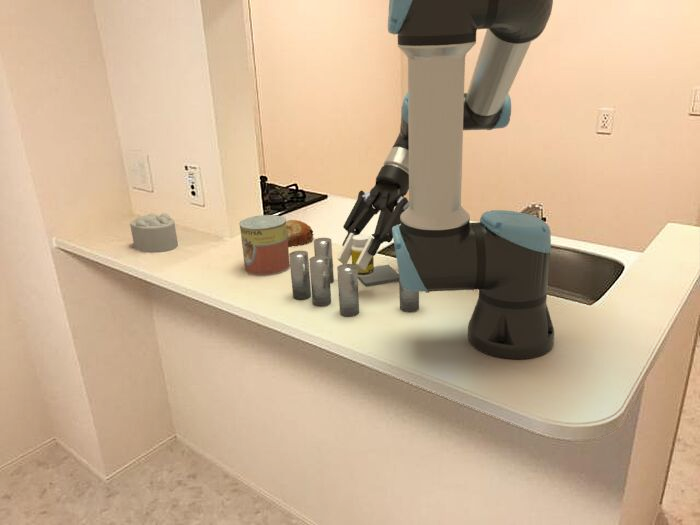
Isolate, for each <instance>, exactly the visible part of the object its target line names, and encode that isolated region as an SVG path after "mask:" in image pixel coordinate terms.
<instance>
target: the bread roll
mask: <svg viewBox="0 0 700 525" xmlns="http://www.w3.org/2000/svg"><path fill="white" fill-rule="evenodd" d="M286 229H287V240H288V248H289V247H291V248H293V247H292V246H294V247H298V245H300V246H305V245H308V244H309V242H310V243H312V240H313V239H314V235H315V234H314V231H313V229H312V227H311V226H310V225H308V224H307V223H305V222H304V221H300V220H297V219H288V220H286ZM307 243H308V244H307ZM304 244H305V245H304Z"/></svg>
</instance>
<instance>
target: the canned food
mask: <svg viewBox="0 0 700 525" xmlns="http://www.w3.org/2000/svg"><path fill="white" fill-rule="evenodd" d="M286 221H287V219H286V218H285V217H284V216H281V215H277V214H276V215H275V214H273V215H272V214H262V215H255V216H251V217H247V218H245V219H242V220H241V221H240V222H239V224H238V225H239V230H240V238H241V248H242V255H243V263H244V271H245V273H246V274H248V275H251V276H254V277H255V276H256V277H266V276H267V277H269V276H275V275H279V274H282V273H285V272H286V271H288V270H289V269H291V268H290V257H289V254H290V253H289V247H288V240H287V229H286Z"/></svg>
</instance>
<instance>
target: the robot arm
mask: <svg viewBox="0 0 700 525" xmlns="http://www.w3.org/2000/svg"><path fill="white" fill-rule="evenodd" d="M388 1H389V2H388V17H387V18H388V19H387V32H388V33H389V34H392V35H393V36H395V35H397V47H398V48H399V50H401V51H402V52H403V53H404V54H405V55H406V57H407V92H406V94H405V95H404V97H403V101H402V104H401V116H400V117H401V118H400V126H399V127H400V128H399V133H398V136H397V138H396V140H395V142H394V144H393V146H392V147H391V149H390V151H389V153H388V155H387V157H386V158H385V160H384V162H383V166H382V167H381V168H380V169H379V171H378V173H377V176H376V178H375V185H374V186H373V187H372V188H371V189H370V190H369V191H366V192H364V190H360V191H359V192H358V196H357V199H356V202H355V203H354V205H353V207H352V209H351V211H350V213H349V214H348V217H347V218H346V221H345V222H344V224H343V229H344V230H345V231H346V232H347V233H346V234H347V235H346V236H345V238H344V240H343V242H342V248H341V250H340V252H339V253H338V256H337V258H336V260H338V261H339V262H340V263H341V265H342V264H348V263H349V260H350V258H352V254H351V247H352V245H354V244H353V239H352V238H353V236H355V235H360V234H362V231H363V230H364V229H365V227H366V226H367V225H368V224H369V223H370V221H371V220H372V218H373V217H374V215H377V214H378V213H379V216H378V218H377V222H376V226H375V229H374V233H372V234H371V237H369V239H368V241H367V243H366V245H365V247H364V249H363V251H362V252H361V254H360V256H359V258H358V260H357V262H356V264H357V265H358V266H359V267H360V268H361V269H362V270H365V269H366V267H367V265H368V263H369V261H370V259H371V257H372V256H373V257H374V256H375V255H377V252H378V251H379V250H380V246H381V244H383V243H387V244H388V243H391V242H392V241H393V244H394V245H393V246H394V251H395V257H396V264H397V269H398V274H399V277H400V282H401V285H402V287H403V288H404V289H405V290H407V291H419V293H420V292H421V293H422V292H424V293H430V292H431V293H432V292H450V291H454V292H455V291H469V290H470V291H474V290H475V291H476V290H478V299H477V301H476V304H475V306H474V308H473V310H472V314H471V317H470V319H469V321H468V324H467V340H468V342H469V343H470V345H472V346H473V348H475V349H477V350H478V351H479V352H482V353H484V354H486V355H487V354H488V355H490V356H493V357H498V358H501V359H502V358H503V359H509V360H510V359H511V360H523V359H524V360H525V359H526V360H527V359H532V358H536V357H540V356H542V355H544V354H546V353H548V352H549V351H551V349H552V348H553V346H554V342H555V328H554V325H553V322H552V318H551V315H550V311H549V308H548V304H547V299H548V298H547V297H548V284H549V282H548V281H549V269H550V258H551V257H550V256H551V252H552V244H551V243H552V242H551V241H552V239H551V236H552V235H551V233H552V232H551V229H550V226H549V225H548V223H547V222H545V221H544V220H542V219H541V218H539V217H536V216H534V215H531V214H527V213H525V212H520V211H514V210H506V209H505V210H501V209H496V210H490V211H488V210H487V211H485V212H483V213H482V214H481V216H480V218H479V222H470V213H468V211H467V210H466V209H465V208H463V206H462V181H463V179H462V176H463V174H462V172H463V146H464V145H463V143H464V142H463V141H464V139H463V138H464V131H483V130H484V131H485V130H486V131H492V130H496V129H504V128H506V127H507V126H508V125H509V123H510V120H511V116H512V100H511V96H510V94H509V92H510V90H511V88H512V85H513V84H514V82H515V79H516V78H517V75H518V73H519V71H520V68H521V66H522V64H523V60H524V59H525V57H526V55H527V52H528V50H529V48H530V46H531V44H532V42H533V41H535V40H536V39H538V38H539V37H540V36H541V35H542V33H543V32H544V30H545V28H546V26H547V23H548V22H549V20H550V17H551V15H552V10H553V5H554V0H388ZM478 30H486V31H485V35H484V37H483V41H482V43H481V47H480V50H479V53H478V57H477V60H476V63H475V66H474V70H473V72H472V73H473V74H472V76H471V80H470V83H469V86H468V90H467V92H465V76H466V75H465V72H466V70H465V69H466V68H465V67H466V62H465V61H466V57H467V53H468V52H469V51H470V50H471V49H472V48H473V47H474V46H475V45H476V44H477V31H478ZM407 193H408V198H407V197H405V196H406V195H407Z"/></svg>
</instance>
